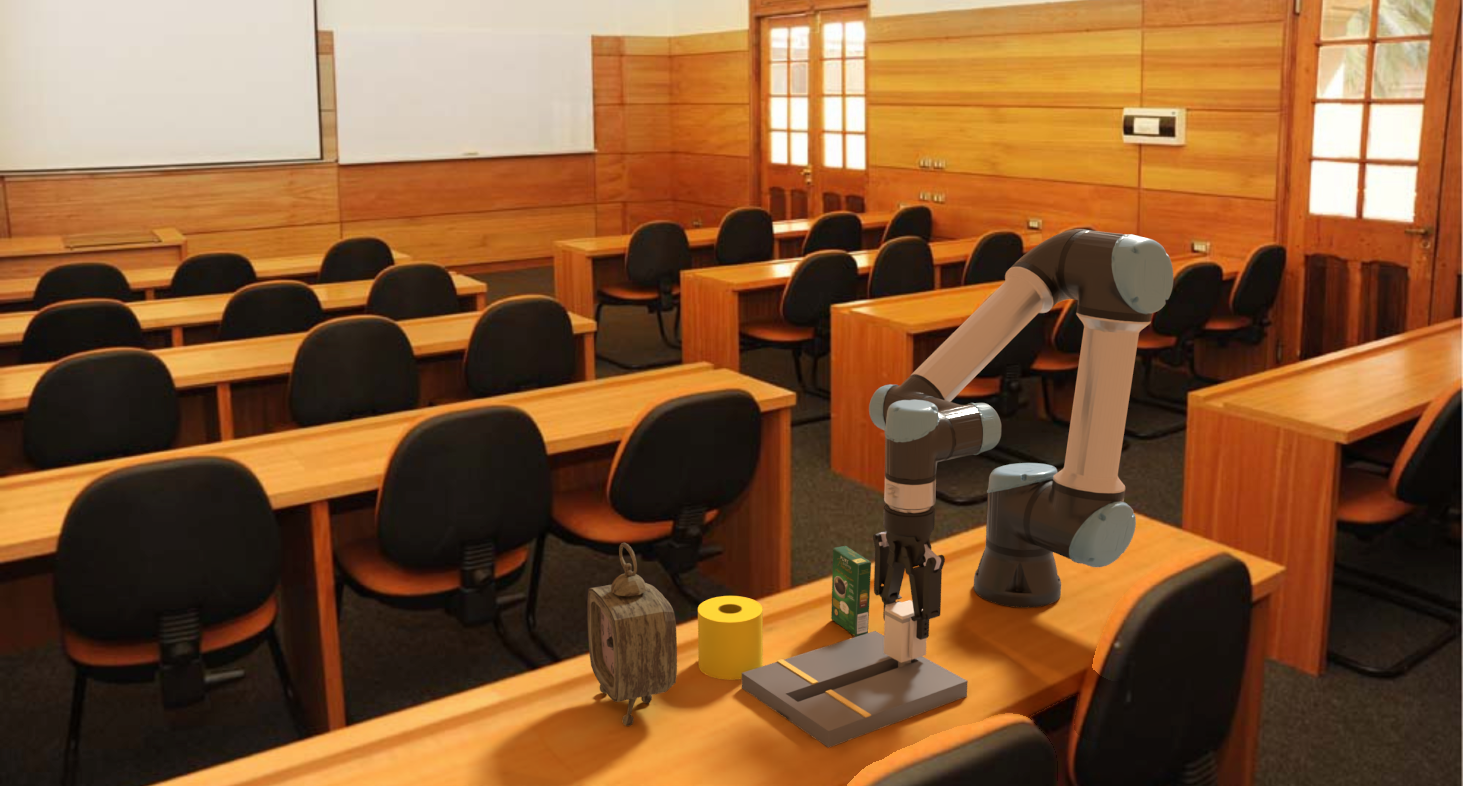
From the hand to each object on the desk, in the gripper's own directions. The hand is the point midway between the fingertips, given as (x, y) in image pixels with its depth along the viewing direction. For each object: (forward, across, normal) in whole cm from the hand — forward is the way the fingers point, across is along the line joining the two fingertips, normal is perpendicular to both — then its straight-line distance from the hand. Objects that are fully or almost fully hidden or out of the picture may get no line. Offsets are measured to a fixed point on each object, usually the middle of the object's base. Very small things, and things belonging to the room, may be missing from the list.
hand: (904, 649), depth 193 cm
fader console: (+4, 0, -10) cm, 11 cm away
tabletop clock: (+4, -15, -39) cm, 42 cm away
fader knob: (+4, 0, 0) cm, 4 cm away
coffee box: (+4, -18, +4) cm, 19 cm away
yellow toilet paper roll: (+5, -18, -20) cm, 27 cm away
